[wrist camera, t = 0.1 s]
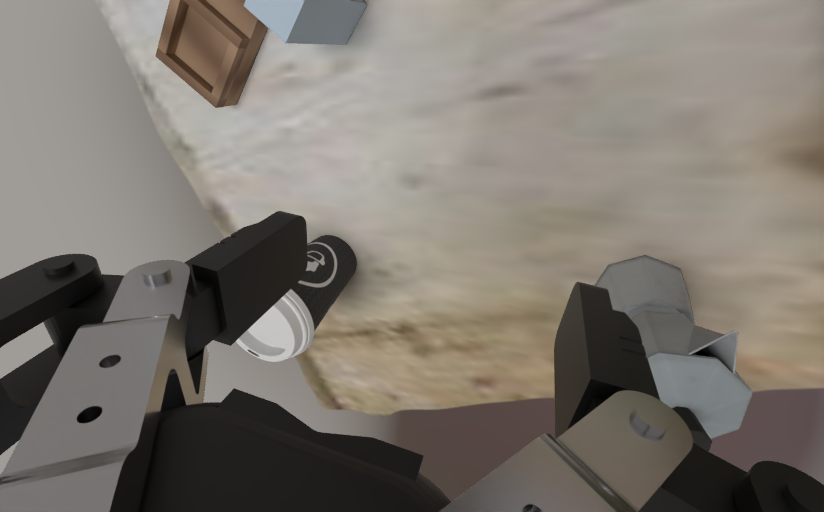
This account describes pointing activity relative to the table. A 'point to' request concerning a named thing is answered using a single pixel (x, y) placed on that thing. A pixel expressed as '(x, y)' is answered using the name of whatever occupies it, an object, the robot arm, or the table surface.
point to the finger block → (309, 19)
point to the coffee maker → (680, 347)
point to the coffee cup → (302, 303)
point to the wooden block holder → (211, 46)
